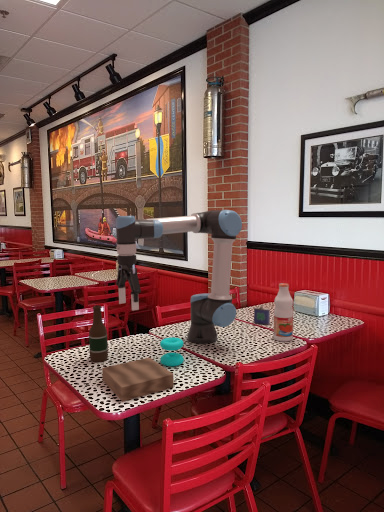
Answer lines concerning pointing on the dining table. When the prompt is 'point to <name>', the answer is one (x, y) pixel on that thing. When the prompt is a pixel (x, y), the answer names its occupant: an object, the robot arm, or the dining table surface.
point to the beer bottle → (98, 337)
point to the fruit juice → (283, 314)
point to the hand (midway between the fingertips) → (128, 306)
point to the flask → (261, 316)
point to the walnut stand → (137, 378)
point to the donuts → (172, 357)
